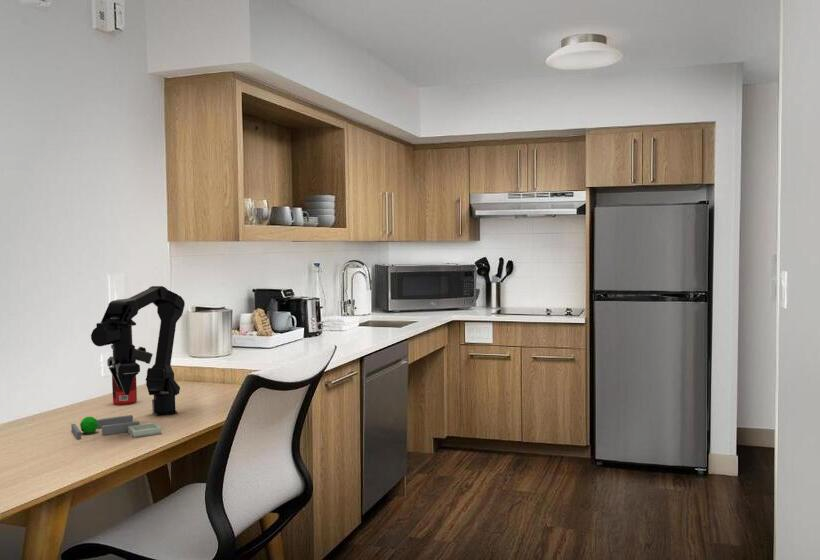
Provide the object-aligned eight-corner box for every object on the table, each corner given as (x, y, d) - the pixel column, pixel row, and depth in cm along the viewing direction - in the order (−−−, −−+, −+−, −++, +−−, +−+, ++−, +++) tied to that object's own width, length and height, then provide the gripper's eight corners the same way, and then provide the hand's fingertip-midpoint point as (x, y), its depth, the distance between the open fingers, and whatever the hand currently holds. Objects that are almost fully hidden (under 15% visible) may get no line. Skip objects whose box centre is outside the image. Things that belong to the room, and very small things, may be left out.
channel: (131, 422, 238) (131, 414, 238) (140, 430, 228) (139, 422, 228) (71, 430, 229) (71, 422, 229) (77, 439, 219) (77, 430, 218)
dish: (155, 428, 230) (155, 422, 230) (161, 433, 223) (161, 427, 223) (127, 432, 226) (127, 426, 226) (133, 438, 219) (133, 431, 219)
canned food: (141, 402, 268) (140, 371, 267) (122, 406, 261) (121, 375, 260) (127, 399, 272) (126, 369, 271) (108, 404, 265) (107, 373, 264)
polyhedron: (80, 431, 227) (80, 416, 227) (98, 430, 229) (97, 414, 229) (80, 435, 223) (79, 419, 222) (98, 434, 225) (97, 418, 224)
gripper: (156, 342, 226) (158, 394, 227) (142, 336, 242) (144, 384, 243) (117, 346, 220) (119, 399, 221) (106, 339, 236) (108, 388, 237)
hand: (124, 392), depth 231 cm, fingers open, 9 cm apart
